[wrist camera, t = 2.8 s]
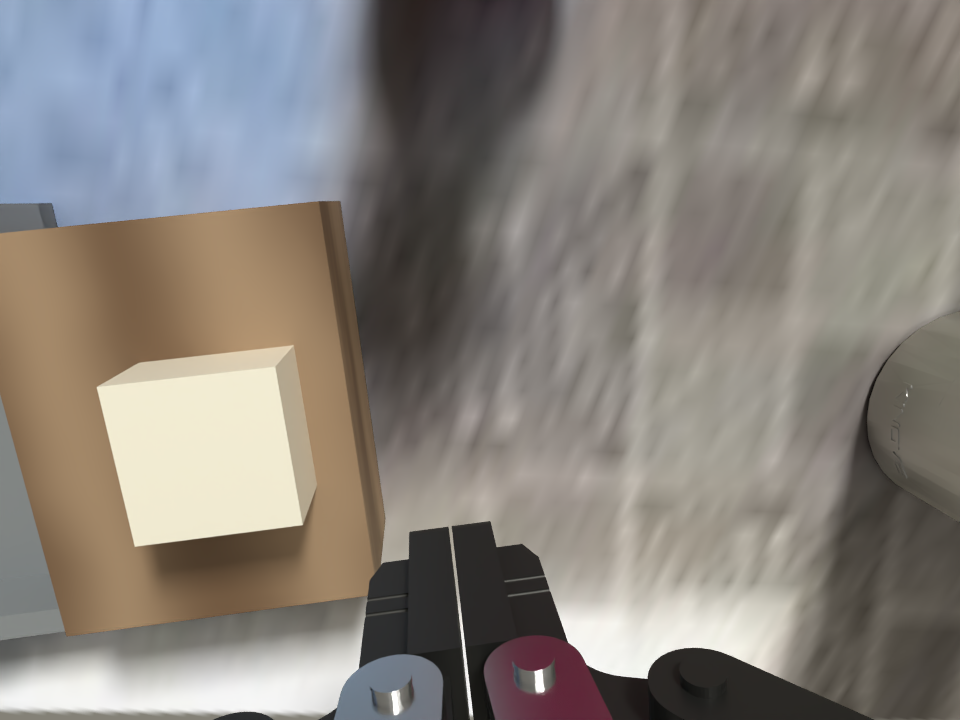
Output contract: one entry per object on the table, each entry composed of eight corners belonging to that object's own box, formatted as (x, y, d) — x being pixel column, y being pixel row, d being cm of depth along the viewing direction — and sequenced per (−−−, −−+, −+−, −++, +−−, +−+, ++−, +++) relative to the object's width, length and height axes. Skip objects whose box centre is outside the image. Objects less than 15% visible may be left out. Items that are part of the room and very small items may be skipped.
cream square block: (293, 345, 23) (275, 366, 20) (317, 485, 24) (302, 525, 21) (138, 362, 22) (96, 387, 19) (170, 503, 23) (135, 546, 20)
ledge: (340, 201, 27) (318, 201, 22) (385, 519, 31) (377, 594, 25) (57, 229, 27) (-43, 237, 21) (135, 552, 30) (66, 636, 24)
